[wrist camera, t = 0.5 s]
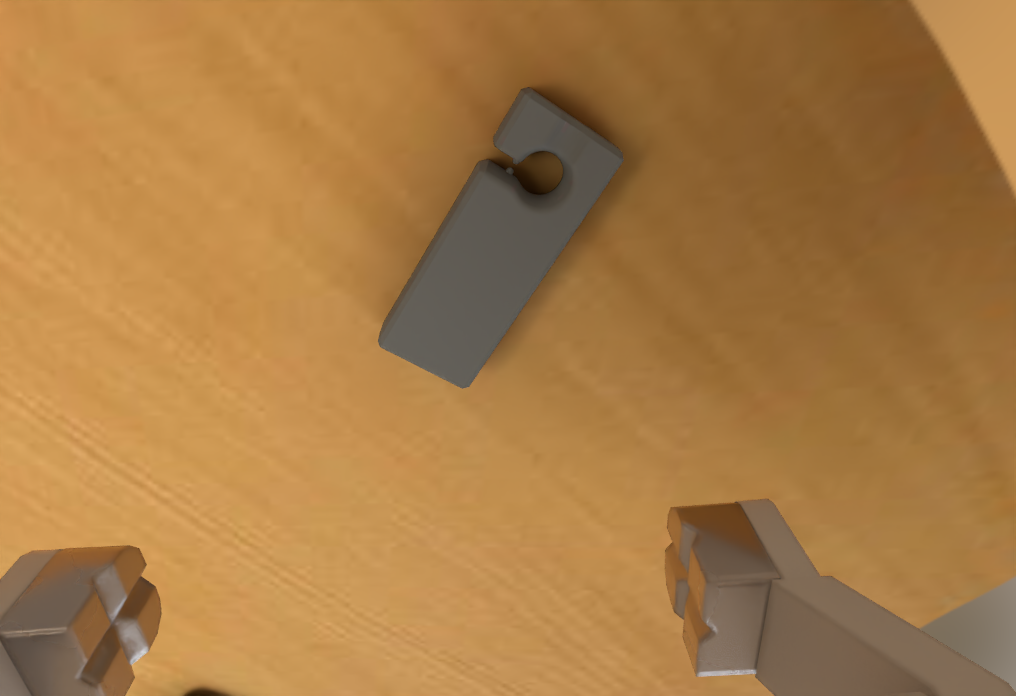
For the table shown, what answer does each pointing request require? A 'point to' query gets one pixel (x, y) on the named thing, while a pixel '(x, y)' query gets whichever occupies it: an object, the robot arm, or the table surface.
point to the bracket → (497, 243)
